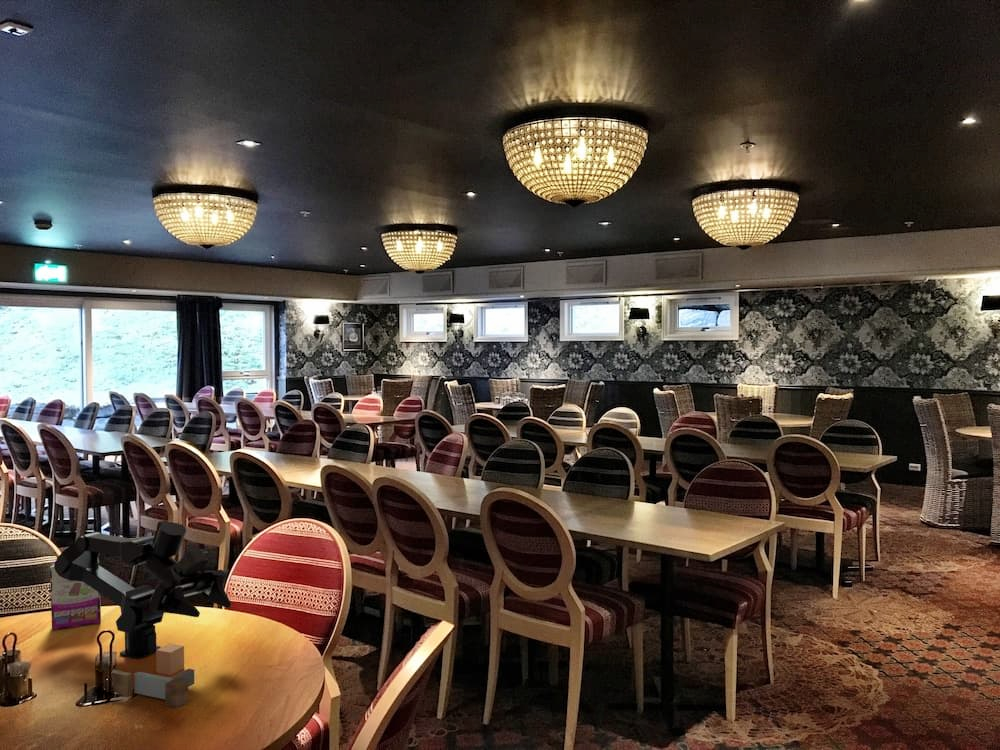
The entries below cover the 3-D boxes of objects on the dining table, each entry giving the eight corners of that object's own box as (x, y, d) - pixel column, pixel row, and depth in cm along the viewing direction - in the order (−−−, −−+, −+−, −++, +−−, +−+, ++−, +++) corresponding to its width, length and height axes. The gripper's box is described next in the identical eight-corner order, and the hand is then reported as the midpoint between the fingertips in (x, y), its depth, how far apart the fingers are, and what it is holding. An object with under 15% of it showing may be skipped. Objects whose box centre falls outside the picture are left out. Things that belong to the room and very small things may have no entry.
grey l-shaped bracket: (134, 692, 160) (134, 673, 160) (159, 679, 166) (159, 661, 166) (170, 700, 156) (169, 681, 156) (194, 686, 162) (194, 668, 162)
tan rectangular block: (156, 672, 171) (156, 650, 170) (170, 665, 174) (170, 643, 174) (170, 675, 169) (170, 652, 169) (184, 668, 173) (183, 646, 173)
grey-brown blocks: (102, 691, 161) (101, 670, 161) (114, 685, 164) (113, 664, 164) (177, 707, 154) (176, 685, 154) (188, 701, 156) (187, 679, 156)
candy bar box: (100, 617, 205) (99, 556, 204) (101, 623, 200) (99, 561, 200) (52, 624, 200) (50, 561, 199) (51, 631, 195) (49, 566, 194)
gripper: (147, 548, 167) (195, 587, 161) (212, 536, 184) (257, 571, 178) (129, 592, 168) (176, 632, 162) (195, 577, 185) (239, 613, 179)
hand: (214, 610), depth 170 cm, fingers open, 9 cm apart
